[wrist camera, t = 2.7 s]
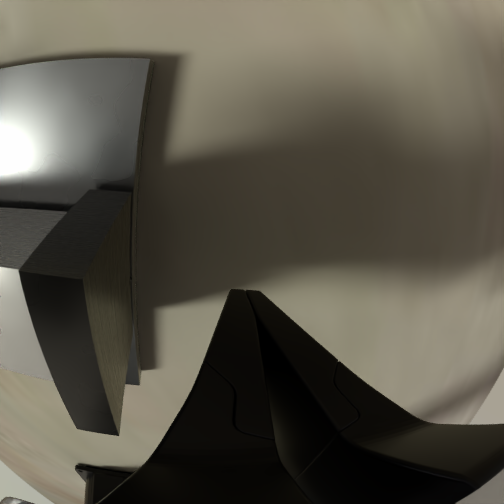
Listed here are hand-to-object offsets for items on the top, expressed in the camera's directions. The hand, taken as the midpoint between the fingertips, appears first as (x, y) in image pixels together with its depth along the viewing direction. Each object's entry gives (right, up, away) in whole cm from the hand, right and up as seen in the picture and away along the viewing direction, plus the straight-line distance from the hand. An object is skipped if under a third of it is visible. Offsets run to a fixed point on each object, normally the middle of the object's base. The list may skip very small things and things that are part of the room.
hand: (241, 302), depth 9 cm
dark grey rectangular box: (-10, +2, -2) cm, 11 cm away
